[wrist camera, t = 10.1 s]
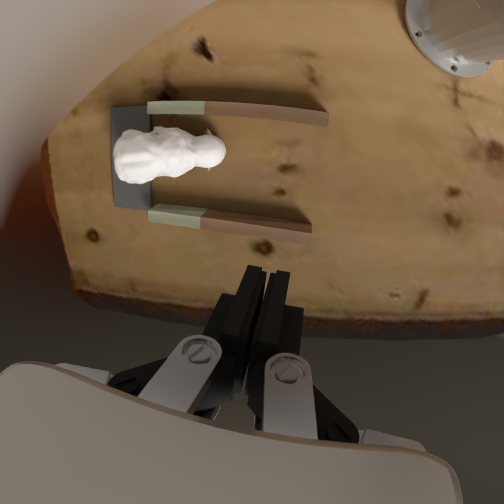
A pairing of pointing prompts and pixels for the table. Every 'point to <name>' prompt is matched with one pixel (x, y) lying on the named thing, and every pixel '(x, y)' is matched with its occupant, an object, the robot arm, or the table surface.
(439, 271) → the table surface
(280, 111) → the parallel bars
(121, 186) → the mat
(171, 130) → the white figurine
